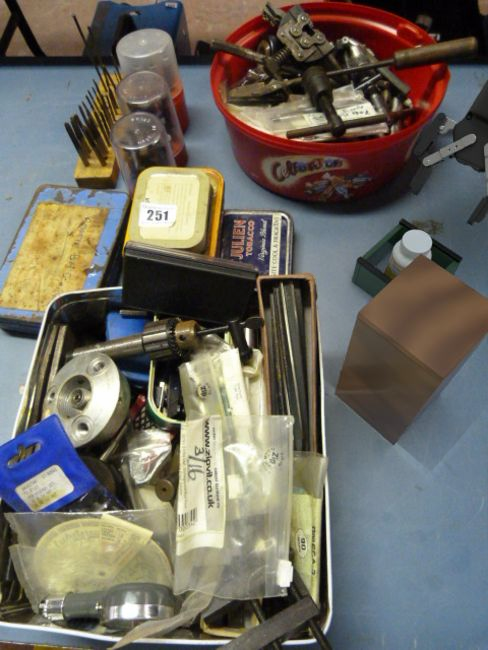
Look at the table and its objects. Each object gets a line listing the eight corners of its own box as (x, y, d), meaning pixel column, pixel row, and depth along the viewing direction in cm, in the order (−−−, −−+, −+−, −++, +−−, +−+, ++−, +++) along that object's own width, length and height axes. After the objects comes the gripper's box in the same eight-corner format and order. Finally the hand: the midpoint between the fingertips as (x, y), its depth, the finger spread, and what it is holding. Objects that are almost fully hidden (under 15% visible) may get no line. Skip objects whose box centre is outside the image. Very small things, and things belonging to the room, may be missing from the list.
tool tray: (451, 280, 77) (463, 257, 72) (407, 323, 73) (417, 303, 69) (394, 241, 81) (402, 217, 76) (351, 281, 77) (356, 259, 73)
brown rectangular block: (440, 394, 68) (506, 310, 49) (393, 446, 65) (444, 378, 46) (381, 347, 72) (420, 252, 53) (334, 394, 69) (358, 312, 50)
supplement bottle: (383, 294, 76) (397, 255, 68) (382, 265, 79) (395, 224, 70) (420, 296, 76) (439, 257, 67) (417, 266, 78) (435, 226, 70)
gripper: (461, 58, 62) (389, 181, 68) (575, 106, 57) (486, 234, 63) (468, 76, 68) (402, 187, 74) (572, 120, 63) (491, 235, 69)
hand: (441, 208), depth 69 cm, fingers open, 8 cm apart
